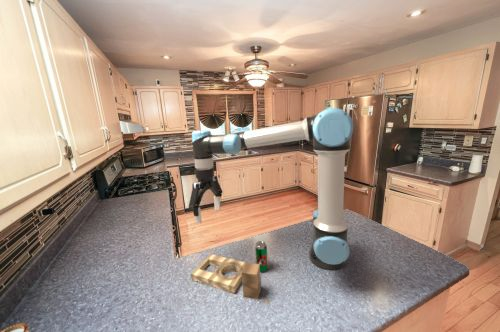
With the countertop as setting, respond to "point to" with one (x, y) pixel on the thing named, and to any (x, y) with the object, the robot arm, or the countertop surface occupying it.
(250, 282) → the walnut square peg
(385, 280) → the countertop surface
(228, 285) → the socket board
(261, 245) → the soda can
